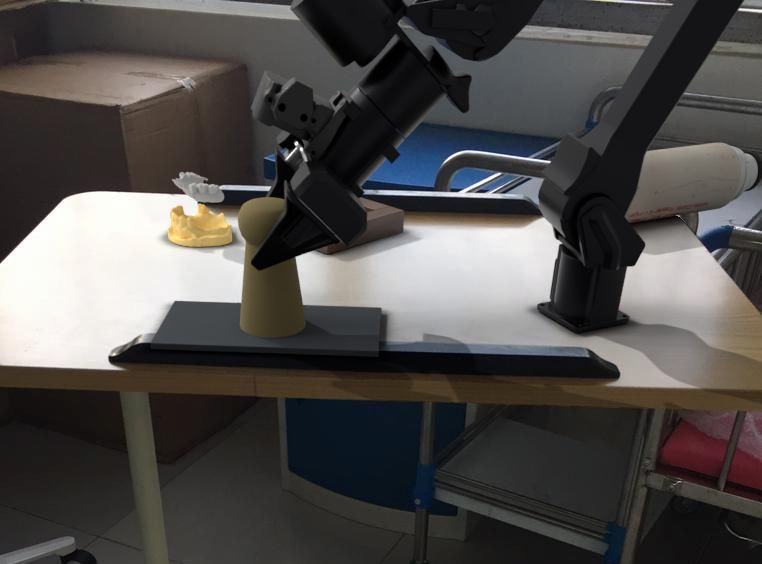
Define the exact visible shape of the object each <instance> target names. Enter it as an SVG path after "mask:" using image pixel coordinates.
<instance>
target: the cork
mask: <svg viewBox="0 0 762 564" xmlns="http://www.w3.org/2000/svg"><path fill="white" fill-rule="evenodd" d="M284 206H285V199H281V198H273V197H266V196H265V197H257V198H253V199H249V200H247V201H246V202H244V203H243V204H242V205H241V207H240V209H239V212H238V215H237V225H238V230H239V233H240V235H241V237H242V238H243V240H244V241H245V243H244V244H245V246H244V257H243V258H244V259H243V260H244V261H243V273H242V274H243V275H242V289H241V302H240V303H241V315H240V327H241V329H242V330H243V331H244V332H246V333H248V334H251V335H253V336H258V337H266V338H277V337H286V336H290V335H294V334H296V333H298V332H300V331H302V330H303V329H304V328H305V325H306V321H305V314H304V308H303V305H304V302H303V295H302V290H301V289H302V288H301V283H300V277H299V270H298V269H299V268H298V264H297V263H298V262H297V258H296V257H294V258H292V259H289V260H287V261H284V262H282V263H279V264H276V265H274V266H271V267H269V268H266V269H264V270H261V271H258V270H257V269H256V268H255V267H253V266H252V265H251V262H250V261H251V259H252V257H253V255H254V254H255V252H256V251H257V249H258V247H259V246H260V244H261V243H262V241H263V240H264V238H265V237H266V235H267V234H268V232H269V231H270V229H271V228H272V226H273V225H274V223H275V222H276V220H277V219H278V217H279V216H280V214H281V213H282V211H283V210H284Z"/></svg>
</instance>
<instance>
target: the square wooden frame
mask: <svg viewBox="0 0 762 564" xmlns="http://www.w3.org/2000/svg"><path fill="white" fill-rule="evenodd" d="M359 200H360V201H361V202H362V204H363V206H364V208H365V210H366V212H367V231H366V232H365V233H364V234H363V235H362V236H361V237H360V238H359V239H358V240H357V241H356V242H355V243H354V244H353V245H352V246H351V247H349V246H347V245H346V244H345V243H344V242H343V241H342V242H341V243H340V244H338V245H336V244H332V245H329V246H326V247H323V248H320V249H317V250H316V251H317V252H320V253H323V254H325V255H330V254H333V253H335V252H339V251H343V250H346V249H349V248H353V247H357V246H360V245H363V244H367V243H369V242H373V241H377V240H380V239H383V238H387V237H389V236H394V235H397V234H400V233H403V232H404V225H405V222H404V221H405V210H403V209H400V208H398V207H394V206H390V205H388V204H385V203H381V202H377V201H375V200H371V199H367V198H365V197H362V196H361V197H360V198H359Z"/></svg>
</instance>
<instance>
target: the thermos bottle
mask: <svg viewBox="0 0 762 564" xmlns="http://www.w3.org/2000/svg"><path fill="white" fill-rule="evenodd" d="M761 180H762V158H761V156H760V155H759V153H757V152H755V151H753V150H745V151H743V150H742V149H740V148H738V147H735V146H733V145H729V144H728V143H724V142H711V143H703V144H702V143H701V144H693V145H686V146H685V145H684V146H677V147H671V148H670V147H669V148H662V149H653V150H647V152H646V154H645V157H644V161H643V166H642V171H641V175H640V180H639V185H638V189H637V193H636V195H635V197H634V199H633V201H632V203H631V205H630V207H629V209H628V212H627V214H626V216H625V218H626V219H627V220H628V222H629V223H630V224H633V223H638V222H645V221H646V222H647V221H653V220H658V219H663V218H664V219H665V218H670V217H676V216H677V217H678V216H682V215H688V214H689V215H690V214H695V213H702V212H707V211H714V210H719V209H722V208H724V207H726V206H727V205H728V204H730V203H731V202H733V201H735V200H737V199H738V198H739V197H741V196H742V195H743V194H744V192H745V193H746V192H750V191H752V190H754V189H755V188H756V187H757V186H759V184H760V182H761Z"/></svg>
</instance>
